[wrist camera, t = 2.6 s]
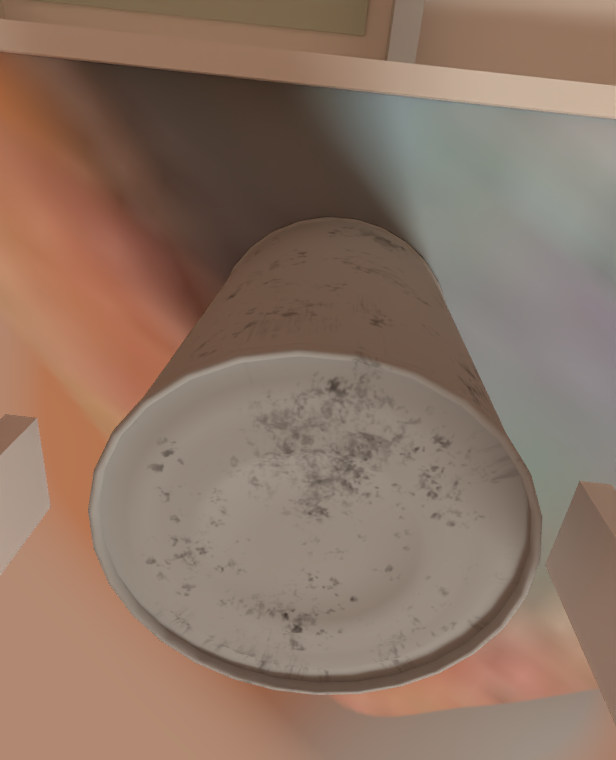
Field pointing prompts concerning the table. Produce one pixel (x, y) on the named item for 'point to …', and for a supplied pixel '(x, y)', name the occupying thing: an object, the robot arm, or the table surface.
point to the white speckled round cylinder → (319, 477)
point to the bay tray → (348, 45)
